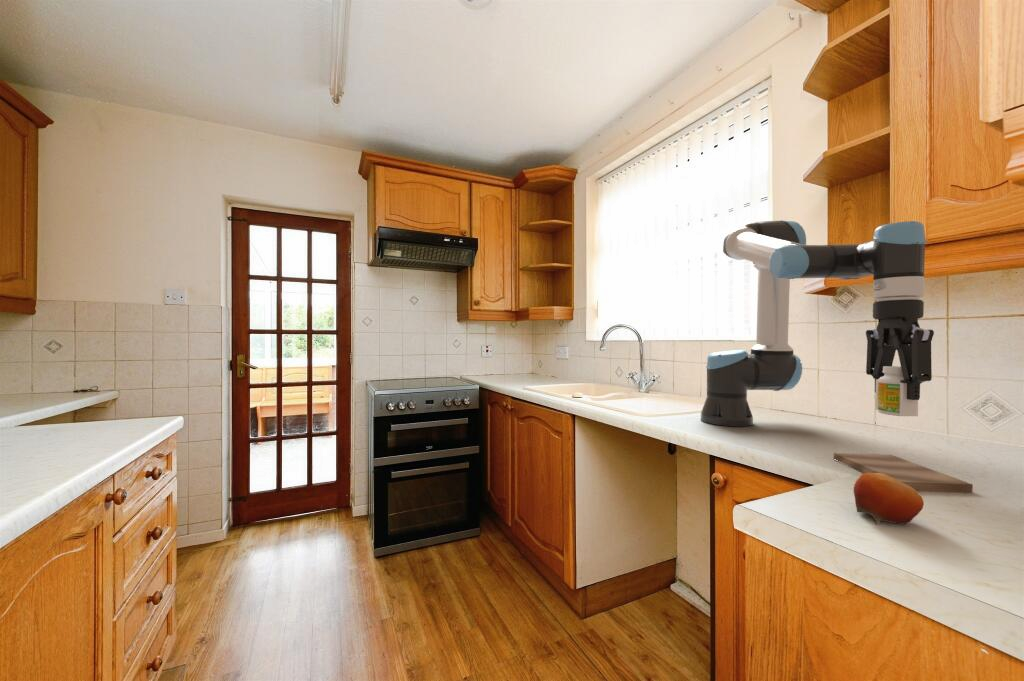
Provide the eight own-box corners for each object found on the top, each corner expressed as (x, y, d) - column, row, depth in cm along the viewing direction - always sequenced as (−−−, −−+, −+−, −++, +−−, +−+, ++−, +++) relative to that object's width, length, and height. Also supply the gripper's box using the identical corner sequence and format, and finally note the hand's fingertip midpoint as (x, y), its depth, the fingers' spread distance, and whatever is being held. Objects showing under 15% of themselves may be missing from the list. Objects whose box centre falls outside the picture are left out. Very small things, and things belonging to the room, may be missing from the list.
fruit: (828, 499, 67) (852, 458, 67) (866, 523, 67) (890, 481, 67) (875, 522, 59) (903, 475, 59) (918, 548, 59) (945, 501, 59)
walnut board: (833, 459, 92) (833, 453, 92) (890, 461, 91) (890, 454, 91) (899, 489, 75) (899, 481, 75) (972, 492, 73) (972, 484, 73)
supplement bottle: (882, 415, 82) (883, 367, 81) (873, 410, 86) (874, 365, 86) (918, 417, 79) (919, 368, 79) (907, 412, 84) (908, 366, 84)
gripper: (845, 303, 92) (844, 404, 92) (917, 295, 74) (915, 422, 74) (881, 302, 91) (879, 405, 91) (963, 295, 73) (960, 423, 73)
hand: (895, 412), depth 83 cm, fingers closed on supplement bottle, 5 cm apart
